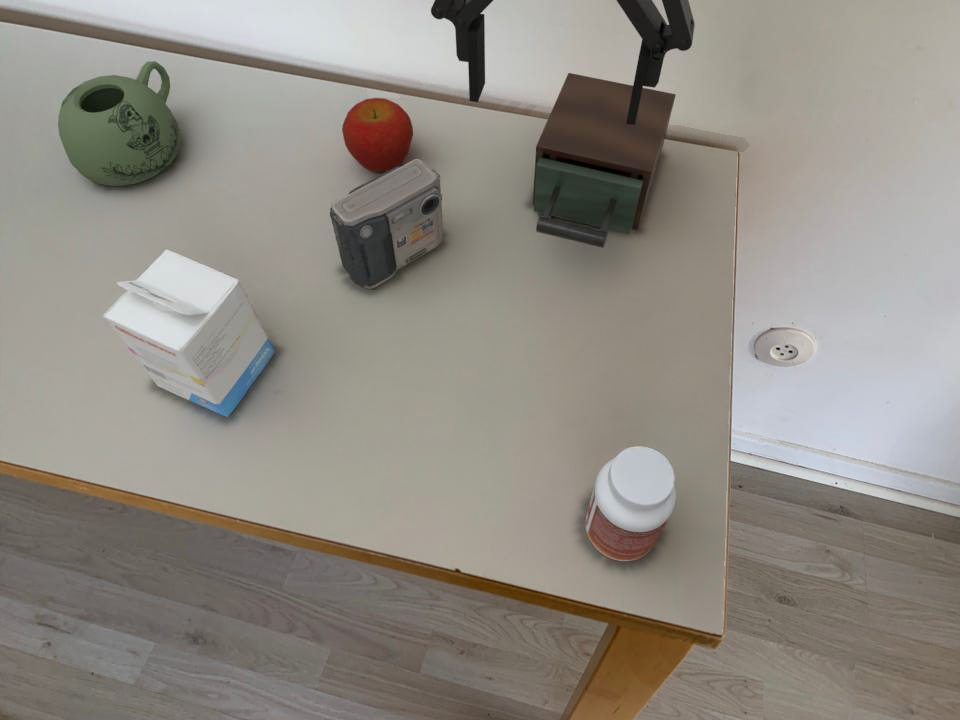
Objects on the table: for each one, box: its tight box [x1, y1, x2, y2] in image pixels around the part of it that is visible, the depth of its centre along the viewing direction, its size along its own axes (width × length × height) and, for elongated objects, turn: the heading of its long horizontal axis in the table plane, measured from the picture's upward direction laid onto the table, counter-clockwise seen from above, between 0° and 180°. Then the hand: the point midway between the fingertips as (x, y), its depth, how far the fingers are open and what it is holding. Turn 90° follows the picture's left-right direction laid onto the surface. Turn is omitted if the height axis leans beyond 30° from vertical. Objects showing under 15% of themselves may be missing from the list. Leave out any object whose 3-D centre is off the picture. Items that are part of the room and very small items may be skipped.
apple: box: [341, 97, 414, 173], centre depth 84 cm, size 8×8×8 cm
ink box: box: [102, 249, 276, 418], centre depth 66 cm, size 9×8×13 cm
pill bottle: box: [584, 445, 677, 562], centre depth 58 cm, size 6×6×11 cm
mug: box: [57, 60, 182, 187], centre depth 85 cm, size 16×13×9 cm
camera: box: [329, 158, 444, 290], centre depth 75 cm, size 11×6×10 cm, turn 126°
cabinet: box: [532, 72, 677, 231], centre depth 81 cm, size 13×12×9 cm
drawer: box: [533, 155, 643, 249], centre depth 78 cm, size 18×11×7 cm, turn 161°
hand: (553, 103), depth 63 cm, fingers open, 13 cm apart
